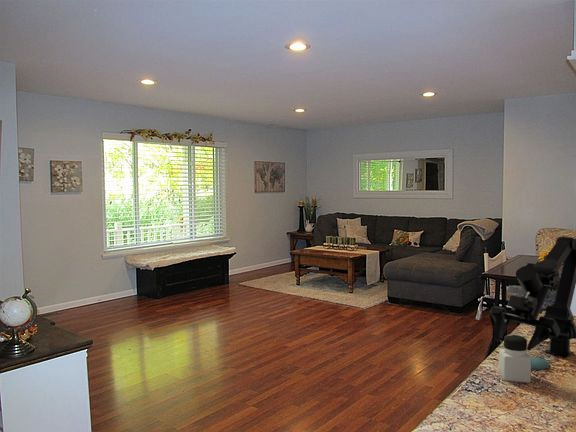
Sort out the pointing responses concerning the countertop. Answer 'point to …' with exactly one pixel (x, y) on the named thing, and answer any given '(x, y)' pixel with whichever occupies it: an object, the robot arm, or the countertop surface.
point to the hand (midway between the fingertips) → (512, 345)
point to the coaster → (538, 363)
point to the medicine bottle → (515, 359)
